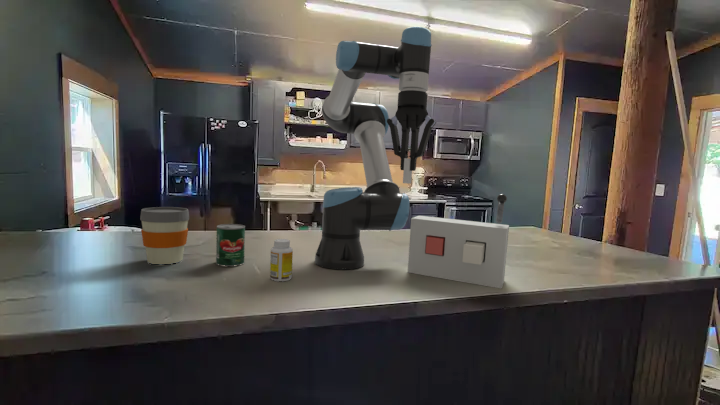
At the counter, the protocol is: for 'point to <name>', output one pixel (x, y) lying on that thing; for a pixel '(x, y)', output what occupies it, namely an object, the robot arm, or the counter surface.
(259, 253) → the counter surface
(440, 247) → the red button
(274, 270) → the supplement bottle
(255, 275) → the counter surface
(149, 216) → the reusable coffee cup
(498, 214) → the toggle lever
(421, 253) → the console
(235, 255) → the canned tomato
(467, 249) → the ivory button
